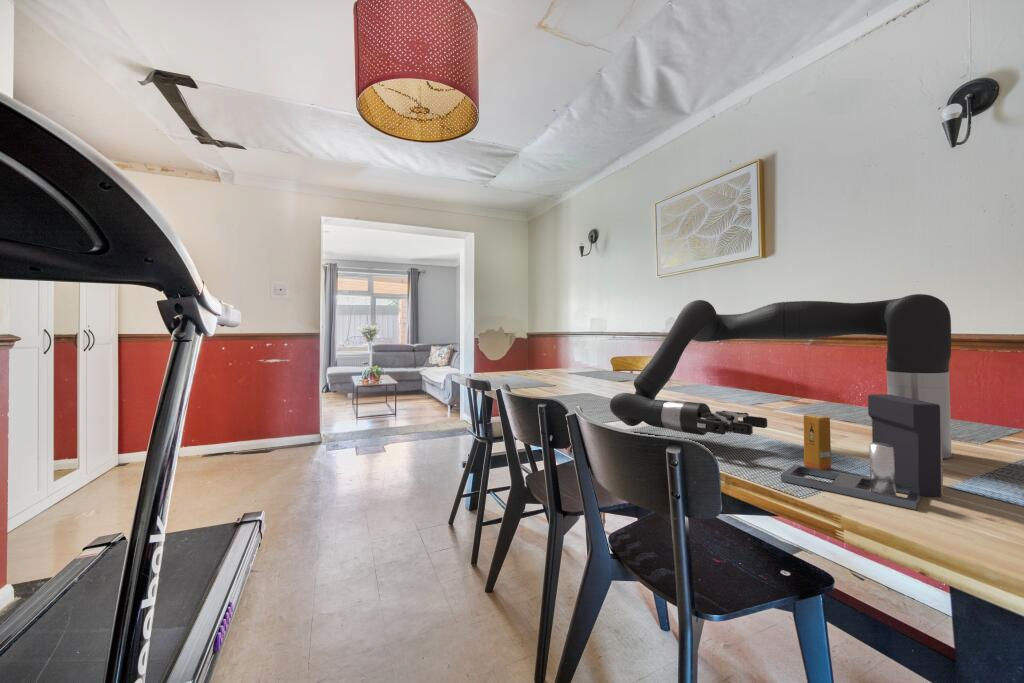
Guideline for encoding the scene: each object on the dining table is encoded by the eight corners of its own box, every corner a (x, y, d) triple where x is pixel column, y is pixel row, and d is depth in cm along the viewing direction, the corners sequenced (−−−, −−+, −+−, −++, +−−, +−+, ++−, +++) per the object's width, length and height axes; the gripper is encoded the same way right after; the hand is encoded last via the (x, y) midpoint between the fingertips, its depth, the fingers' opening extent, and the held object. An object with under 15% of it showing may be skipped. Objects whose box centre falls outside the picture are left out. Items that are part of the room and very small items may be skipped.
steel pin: (872, 489, 66) (871, 441, 66) (897, 494, 64) (896, 444, 64) (869, 494, 64) (867, 445, 64) (894, 500, 62) (893, 448, 62)
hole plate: (794, 470, 76) (794, 464, 76) (921, 494, 63) (921, 487, 63) (781, 481, 71) (780, 474, 71) (915, 509, 58) (915, 501, 58)
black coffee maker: (947, 500, 62) (946, 404, 62) (914, 498, 63) (913, 404, 63) (895, 476, 73) (894, 394, 73) (868, 475, 74) (867, 394, 74)
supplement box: (833, 468, 77) (831, 416, 77) (819, 470, 76) (817, 418, 76) (816, 463, 80) (814, 413, 80) (802, 465, 79) (801, 415, 79)
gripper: (670, 405, 93) (746, 413, 81) (698, 398, 102) (770, 404, 90) (671, 437, 93) (747, 450, 81) (699, 427, 102) (771, 437, 90)
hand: (759, 426), depth 85 cm, fingers open, 8 cm apart
